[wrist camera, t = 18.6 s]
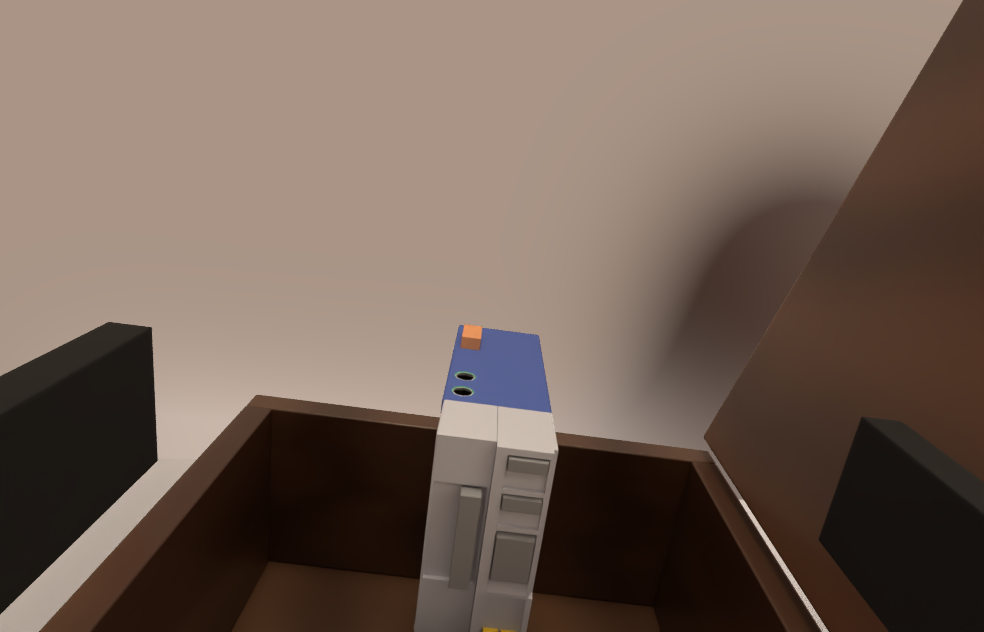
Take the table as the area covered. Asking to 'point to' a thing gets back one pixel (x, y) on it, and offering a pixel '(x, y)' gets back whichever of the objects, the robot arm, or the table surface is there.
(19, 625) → the table surface
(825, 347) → the chest lid
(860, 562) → the robot arm
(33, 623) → the table surface
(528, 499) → the walkman
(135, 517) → the table surface
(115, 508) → the table surface
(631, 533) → the chest
